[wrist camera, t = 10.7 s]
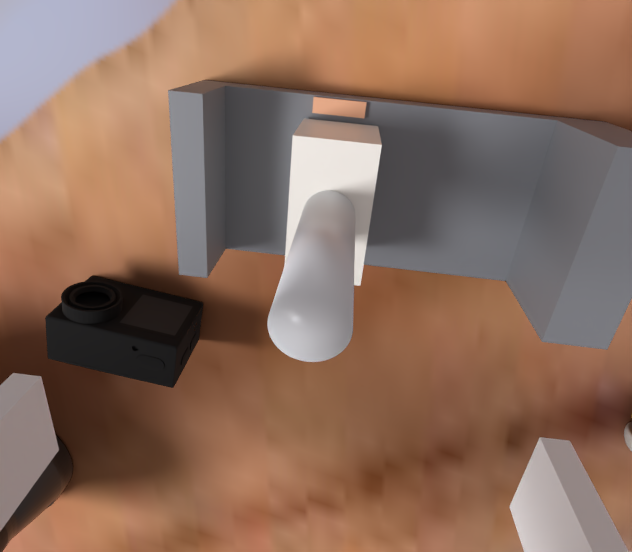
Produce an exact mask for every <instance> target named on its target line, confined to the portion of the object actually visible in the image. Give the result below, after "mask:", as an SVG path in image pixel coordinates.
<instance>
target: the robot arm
mask: <svg viewBox="0 0 632 552" xmlns="http://www.w3.org/2000/svg"><path fill="white" fill-rule="evenodd" d="M72 472H73V466H72V460H71V457H70V455H69V453H68V451H67V449H66V447H65V446H64V444H63V443H62V442H61V440H60V439H59V438H58V437H57V436H56V435H55V431H54V427H53V423H52V419H51V415H50V410H49V406H48V402H47V398H46V394H45V390H44V386H43V382H42V377H41V376H34V375H26V374H18V373H12V374H11V375H10V376H9V377H8V378H7V379H6V380H5V381H4V382H3V383H2V384H1V385H0V552H2V551H3V550H4V548H5V547H6V546H7V544H8V543H9V541H10V540H11V539H12V538H13V537H14V536H16V535H17V534H18V533H19V532H20V531H21V530H23V529H24V528H25V527H26V526H27V525H28V524H30V523H31V522H32V521H33V520H34V519H35V518H36V517H37V516H38V515H40V514H41V513H42V512H43V511H44V510H45V509H46V508H48V507H49V506H51V505H52V504H53V503H54V502H55V501H56V500H57V499H58V498H59V496H60V495H61V493H62V492H63V490H64V489H65V487H66V486H67V484H68V483H69V481H70V479H71V476H72ZM510 510H511V513H512V516H513V519H514V522H515V525H516V528H517V531H518V534H519V537H520V540H521V543H522V546H523V550H524V552H629V551H628V549H627V548H626V546H625V544H624V542H623V540H622V538H621V536H620V534H619V532H618V531H617V529H616V527H615V525H614V523H613V521H612V519H611V517H610V516H609V514H608V512H607V510H606V508H605V506H604V504H603V502H602V500H601V499H600V497H599V495H598V493H597V491H596V489H595V487H594V485H593V484H592V482H591V480H590V478H589V476H588V474H587V472H586V470H585V468H584V467H583V465H582V463H581V461H580V459H579V457H578V455H577V453H576V452H575V450H574V448H573V446H572V444H571V442H570V441H567V440H559V439H551V438H543V437H540V438H539V440H538V442H537V445H536V447H535V449H534V452H533V454H532V456H531V458H530V461H529V463H528V465H527V468H526V470H525V472H524V475H523V477H522V479H521V481H520V484H519V486H518V488H517V491H516V493H515V495H514V497H513V500H512V502H511V504H510Z"/></svg>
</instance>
